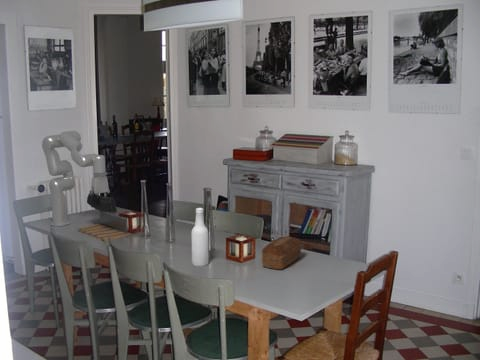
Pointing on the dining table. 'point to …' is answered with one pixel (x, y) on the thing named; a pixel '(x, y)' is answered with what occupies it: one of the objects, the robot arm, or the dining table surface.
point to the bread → (281, 252)
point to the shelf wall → (113, 221)
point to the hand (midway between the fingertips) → (100, 203)
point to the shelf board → (103, 232)
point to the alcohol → (199, 240)
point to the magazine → (102, 203)
